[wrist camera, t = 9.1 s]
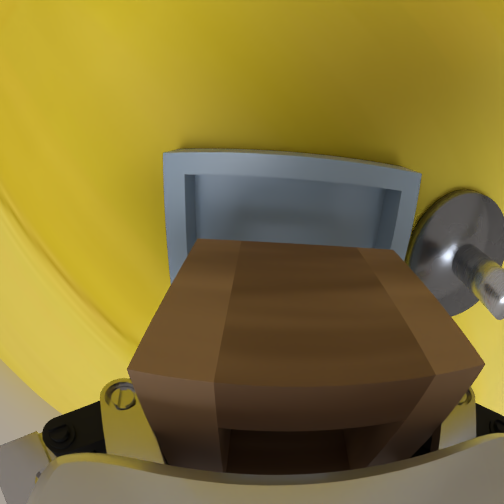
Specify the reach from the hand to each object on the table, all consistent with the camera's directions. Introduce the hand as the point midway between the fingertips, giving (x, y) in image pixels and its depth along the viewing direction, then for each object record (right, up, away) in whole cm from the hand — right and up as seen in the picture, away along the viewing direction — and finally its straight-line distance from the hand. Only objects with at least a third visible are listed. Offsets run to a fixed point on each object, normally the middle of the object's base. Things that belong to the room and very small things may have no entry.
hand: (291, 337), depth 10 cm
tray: (+1, +3, +6) cm, 7 cm away
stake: (+13, +3, +5) cm, 14 cm away
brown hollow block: (0, 0, +1) cm, 1 cm away
